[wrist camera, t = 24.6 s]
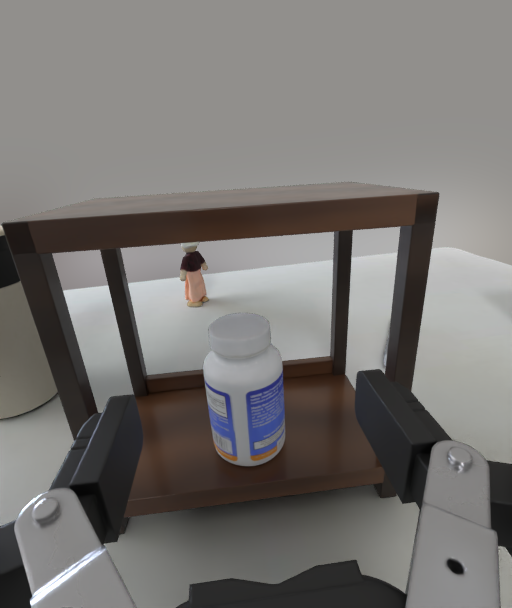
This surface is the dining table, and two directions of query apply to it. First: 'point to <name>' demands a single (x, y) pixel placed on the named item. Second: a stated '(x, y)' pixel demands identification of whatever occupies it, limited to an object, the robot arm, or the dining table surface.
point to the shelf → (190, 384)
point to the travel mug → (19, 346)
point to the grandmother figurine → (193, 275)
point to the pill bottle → (244, 389)
